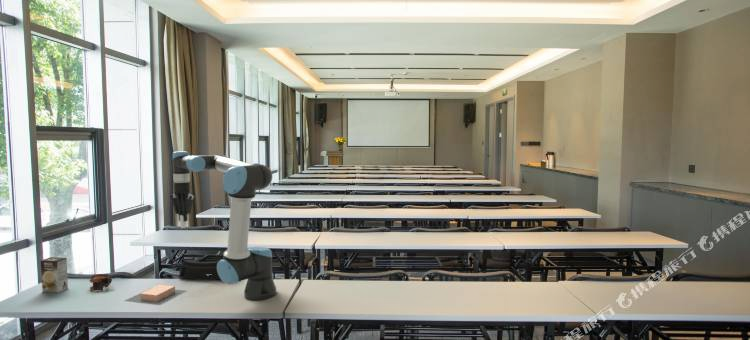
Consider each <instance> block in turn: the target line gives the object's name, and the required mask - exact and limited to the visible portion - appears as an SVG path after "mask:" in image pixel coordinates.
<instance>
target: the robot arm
mask: <svg viewBox="0 0 750 340" xmlns="http://www.w3.org/2000/svg"><path fill="white" fill-rule="evenodd" d="M171 159H172V172H173V174H172V176H173V182H174V183H173V189H174V192H173V194H170V196H169V197H170V199H171V201H172V205H173V209H174V213H175V215H178V220H179V221H178V222H180V229H184V228H187V223H188V220H189V219H188V215H190V214H191V213H192V208H193V202H194V199H195V198H196V197H195V195H194V194H192V193H191V190H190V189H191V182H190V180H191V179H190V175H191V174H190V173H191V172H195V173H196V172H201V171H209V170H210V171H212V170H215V171H218V172H221V173H222V172H223V173H224V174H223V178H222V186H223V189H224V192H226V193H227V197H228V198H229V199H230V212H229V222H228V223H229V225H228V236H227V237H228V239H227V249H226V250H225V251H223V255H222V258H223V259H219V260H218V261H219V262H218V263H217V272H218V275H219V277H220V279H219V280H221V281H222V282H223V283H224V284H226V285H233V284H237V283H239V282H242V281H245V280H247V282H246V284H245V288H244V291H243V294H244V298H246V300H250V301H262V300H263V301H264V300H268V299H270V298H273V297H275V296H276V295H277V287H276V284H275V282H274V278H273V255H272V250H271V248H269V247H266V246H265V247H264V246H251V247H248V245H249V243H248V242H249V234H250V233H249V232H250V220H251V209H252V200H254V198H256V191H261V190H264V189H266V188H268V187H269V186H270V185H271V183H272V181H273V173H272V170H271V169H270V167H268V166H267V165H264V164H261V163H258V162H257V163H248V162H245V161H240V160H237V159H234V158H233V159H232V158H229V157H227V155H225V154H207V155H206V154H205V155H190V152H188V151H173V152H172V158H171Z"/></svg>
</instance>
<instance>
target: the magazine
mask: <svg viewBox="0 0 750 340" xmlns="http://www.w3.org/2000/svg"><path fill="white" fill-rule="evenodd" d="M182 261H183V262H182V263H181V265H180V266H181V267H180V270H179V275H178V278H183V279H190V280H201V281H202V280H207V281H209V280H212V281H213V280H221V279H220V277H219V275H218V272H217V263H218V262H219V261H220V260H218V261H217V260H216V261H205V262H204V261H191V260H187V259H183V260H182ZM206 274H212V275H209V276H207V275H206Z"/></svg>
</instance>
